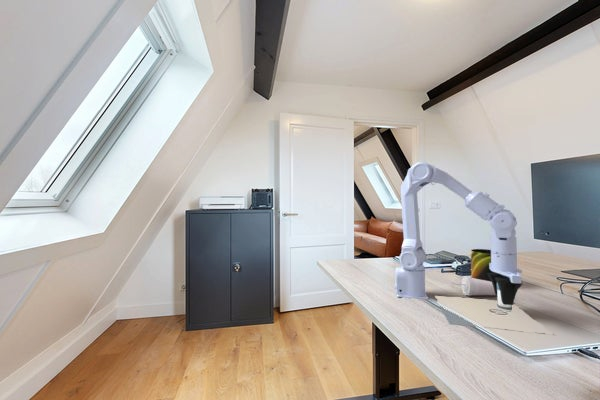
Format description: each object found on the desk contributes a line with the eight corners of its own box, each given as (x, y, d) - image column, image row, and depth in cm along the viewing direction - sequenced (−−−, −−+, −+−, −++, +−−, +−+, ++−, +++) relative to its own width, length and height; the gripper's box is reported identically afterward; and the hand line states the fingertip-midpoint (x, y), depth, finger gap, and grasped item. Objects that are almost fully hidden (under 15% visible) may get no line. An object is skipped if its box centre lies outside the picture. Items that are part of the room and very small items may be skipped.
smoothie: (506, 288, 82) (456, 284, 84) (500, 303, 85) (452, 299, 87) (496, 274, 87) (450, 270, 90) (490, 289, 90) (446, 284, 93)
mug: (492, 277, 108) (492, 247, 108) (507, 288, 95) (506, 254, 95) (465, 275, 111) (465, 246, 111) (475, 285, 98) (475, 253, 98)
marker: (500, 311, 73) (499, 281, 73) (495, 306, 76) (494, 278, 76) (515, 312, 72) (514, 282, 72) (509, 307, 75) (508, 279, 75)
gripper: (535, 259, 66) (536, 313, 66) (508, 248, 80) (508, 294, 80) (502, 257, 68) (503, 310, 68) (481, 248, 82) (482, 292, 82)
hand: (504, 301), depth 74 cm, fingers closed on marker, 3 cm apart
